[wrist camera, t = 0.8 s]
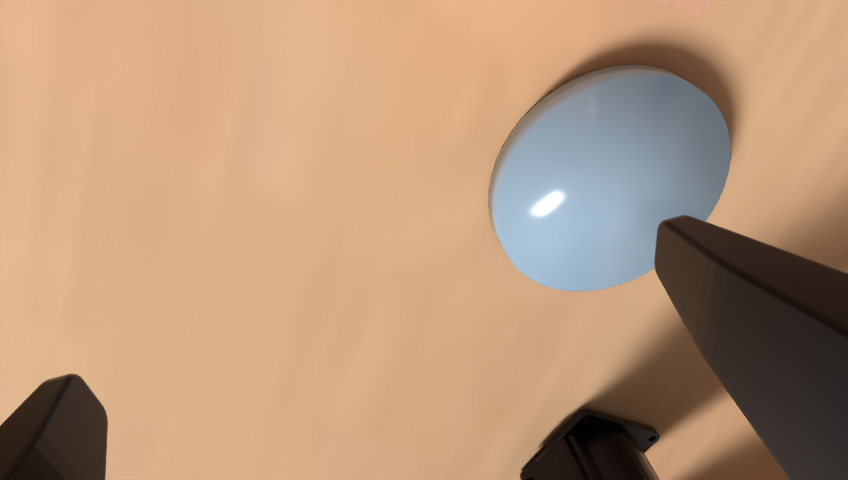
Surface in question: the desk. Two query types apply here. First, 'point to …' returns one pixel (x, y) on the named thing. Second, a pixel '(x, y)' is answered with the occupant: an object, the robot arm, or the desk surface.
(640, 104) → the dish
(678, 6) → the container
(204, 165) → the desk surface
